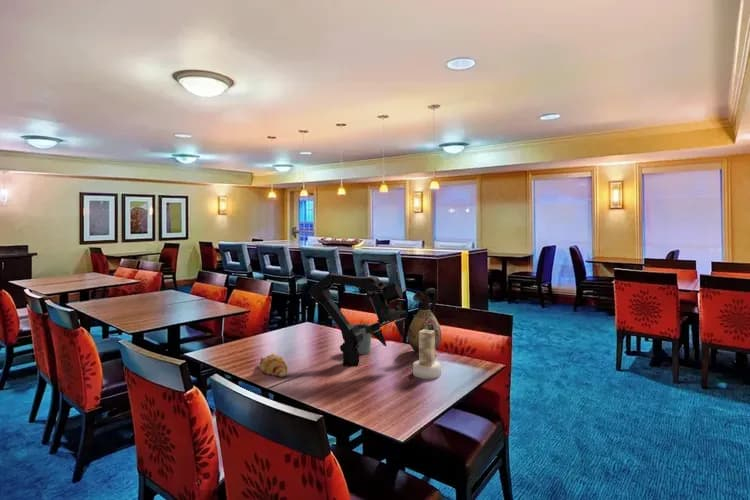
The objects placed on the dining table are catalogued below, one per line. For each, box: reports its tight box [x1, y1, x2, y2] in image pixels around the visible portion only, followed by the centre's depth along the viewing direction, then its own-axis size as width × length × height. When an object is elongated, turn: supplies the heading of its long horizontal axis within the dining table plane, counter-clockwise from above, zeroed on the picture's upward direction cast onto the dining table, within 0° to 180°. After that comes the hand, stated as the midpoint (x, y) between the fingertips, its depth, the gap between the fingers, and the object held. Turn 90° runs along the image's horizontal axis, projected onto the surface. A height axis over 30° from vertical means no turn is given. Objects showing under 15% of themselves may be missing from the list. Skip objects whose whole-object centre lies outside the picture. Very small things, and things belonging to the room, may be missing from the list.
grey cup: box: [351, 323, 372, 355], centre depth 200 cm, size 10×10×12 cm
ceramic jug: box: [407, 287, 443, 356], centre depth 197 cm, size 17×15×30 cm
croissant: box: [259, 353, 288, 378], centre depth 175 cm, size 21×10×8 cm, turn 39°
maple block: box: [418, 329, 436, 367], centre depth 169 cm, size 5×5×13 cm
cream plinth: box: [412, 359, 442, 380], centre depth 170 cm, size 11×11×4 cm
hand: (394, 341), depth 176 cm, fingers open, 9 cm apart
